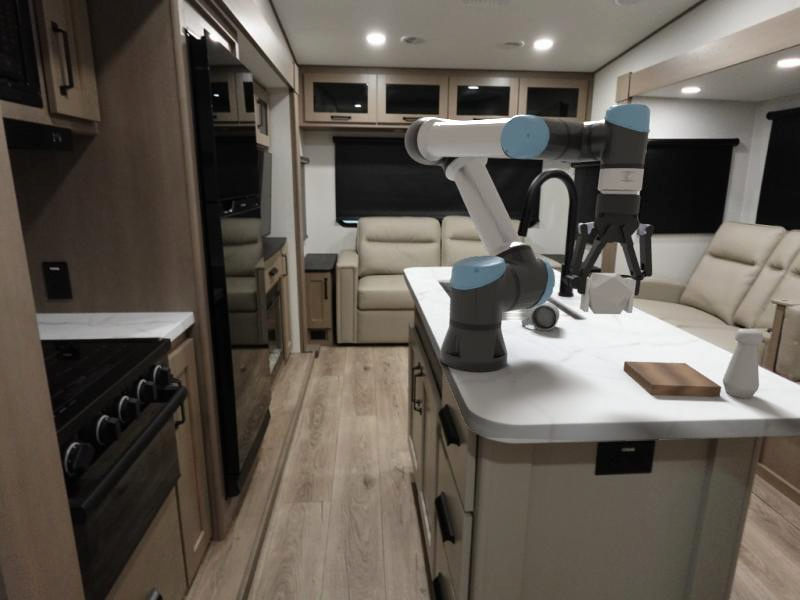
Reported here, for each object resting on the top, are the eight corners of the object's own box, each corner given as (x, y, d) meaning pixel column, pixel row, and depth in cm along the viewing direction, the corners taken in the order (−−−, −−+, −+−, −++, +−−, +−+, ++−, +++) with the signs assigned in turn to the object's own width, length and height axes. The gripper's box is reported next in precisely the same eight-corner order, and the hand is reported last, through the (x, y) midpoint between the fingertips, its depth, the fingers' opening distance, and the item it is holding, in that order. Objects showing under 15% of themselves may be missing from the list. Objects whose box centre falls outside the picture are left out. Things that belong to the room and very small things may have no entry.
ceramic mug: (559, 325, 141) (561, 300, 139) (556, 332, 134) (558, 306, 132) (523, 322, 145) (524, 297, 143) (519, 328, 138) (520, 303, 136)
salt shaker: (754, 403, 90) (767, 336, 88) (718, 394, 94) (730, 330, 91) (758, 393, 95) (770, 330, 92) (723, 385, 98) (734, 324, 95)
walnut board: (650, 394, 94) (652, 384, 93) (623, 370, 106) (624, 361, 106) (719, 396, 93) (721, 386, 93) (683, 371, 106) (685, 363, 105)
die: (622, 323, 90) (647, 280, 91) (581, 299, 91) (606, 256, 92) (605, 327, 98) (629, 288, 99) (568, 304, 99) (592, 266, 100)
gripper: (569, 192, 88) (558, 314, 93) (685, 194, 87) (667, 317, 92) (558, 191, 95) (548, 305, 100) (665, 193, 94) (649, 307, 99)
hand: (605, 310), depth 96 cm, fingers closed on die, 8 cm apart
